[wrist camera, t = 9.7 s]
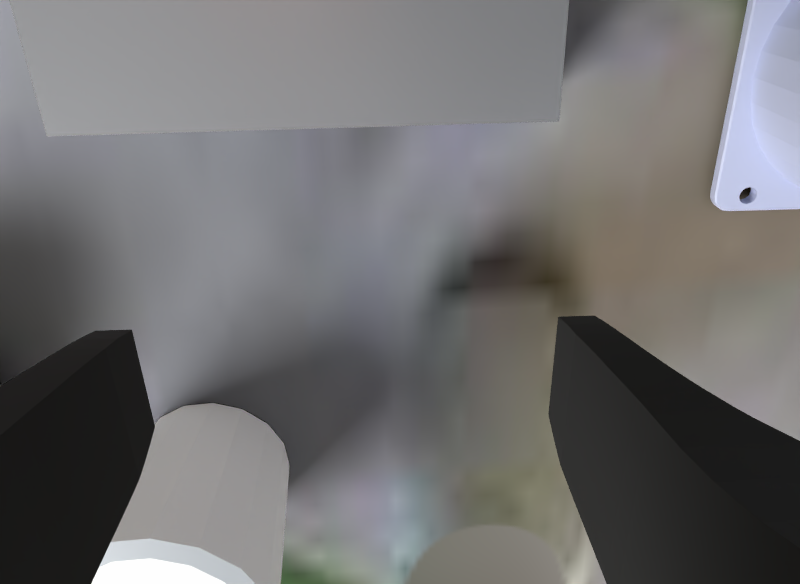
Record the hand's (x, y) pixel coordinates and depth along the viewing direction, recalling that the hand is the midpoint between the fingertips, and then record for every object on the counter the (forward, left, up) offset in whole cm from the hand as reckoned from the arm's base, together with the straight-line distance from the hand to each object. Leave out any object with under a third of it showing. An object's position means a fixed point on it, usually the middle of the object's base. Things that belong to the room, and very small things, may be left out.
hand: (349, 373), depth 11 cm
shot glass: (+6, +11, -11) cm, 17 cm away
